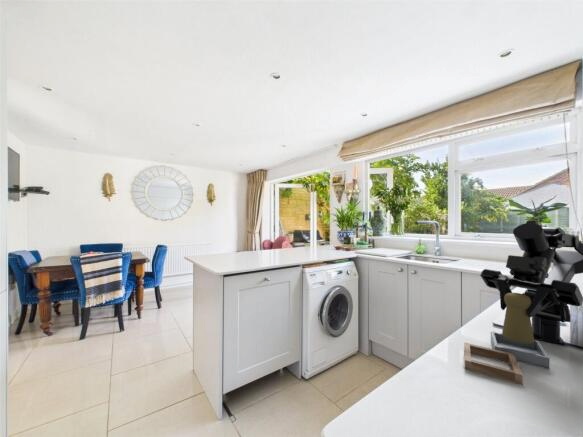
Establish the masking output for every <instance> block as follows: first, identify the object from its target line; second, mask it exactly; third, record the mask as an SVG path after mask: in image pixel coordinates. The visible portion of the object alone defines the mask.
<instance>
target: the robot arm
mask: <svg viewBox="0 0 583 437" xmlns="http://www.w3.org/2000/svg"><path fill="white" fill-rule="evenodd" d="M512 232H513V236H514V238H515V240H516V243H517V245H518V247H519V249H520V250H521V251H523V255H522V256H521V255H513V254H510V255H509V254H508V255H507V260H506V264H505V268H507V269H509V270H510V271H509V274H510V276H513V277H509V276H508V275H504V274H503V273H502V272H501V270H496V269H490V268H489V269H488V268H484V269H483V270H482V271H481V273H480V274H479V275H480V277H481V279H482V280H483V282H484V284H485V285H486V287H488V288H491V289H496V290H498V292H499V302H500V303H499V304H500V309H501V310H502V311H505V310H506V308H507V305H506V303H505V301H504V296H505V295H506V294H507V293H513V292H512V290H511V287H512V286H513V287H516V288H520V289H525V291H523V292H522V294H524V295H527V296H528V297H530V299H531V301H532V303H531V305H530V307H529V310H528V313H527V315H528V317H530V318H531V326H532V331H533V337H534V340H537V341H544V342H549V343H555V344H558V345H566V341H565V340H564V339H563V338H562V337H561V323H571V322H572V315H571V310H570V305H571V306H574V307H580V306H582V303H583V294H582V292H581V290H580V287H579V286H578V285H577V283H576V282H572V279H573V278H574V277H575V275H579V274H583V243H582V242H581V241H580V238H579V236H578V235H575V234H568V233H566V232H565V230H564V229H562V228H561V227H555V226H554V227H551V226H549V227H548V226H542V225H540V224H539V223H538V221H537V220H526V222H525V223H523V224H519V225H518V226H516V227H515V228H514V229H513V230H512ZM561 248H572V249H574V250H575V251H573V250H572V251H571V250H560V249H561ZM558 249H559V250H558ZM551 264H553V267H552V268H551ZM550 268H551V270H550V271H549V269H550Z"/></svg>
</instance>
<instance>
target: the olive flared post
mask: <svg viewBox="0 0 583 437" xmlns="http://www.w3.org/2000/svg"><path fill="white" fill-rule="evenodd" d="M504 301H505V303H506V305H507V307H506V308H505V313H504V321H503V325H502V326H503V327H502V332H501V333H502V335H503V336H504V337H506V338H508V339H510V340H513V341H516V342H521V343H533V342H534V340H535V339H534V337H533V331H532V319H531V317H528V315H527V313H528V310H529V307H530V305H531V303H532V301H531V299H530V297H528V296H527V295H524V294H523V293H520V292H512V293H507V294H506V295H505V296H504Z"/></svg>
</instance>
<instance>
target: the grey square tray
mask: <svg viewBox="0 0 583 437" xmlns="http://www.w3.org/2000/svg"><path fill="white" fill-rule="evenodd" d="M490 341H491V346H492V349H495V350H499V351H504V352H508V353H512V354H514V355H515V358H516V360H517V363H523V364H526V365H530V366H535V367H539V368H543V369H548V370H550V364H551V362H550V361H551V360H550V358H551V357H550V356H549V355H548V353H547V352H546V350H545V349H544V347H543V345H542V344H541V343H540V340H538V339H534V342H533V343H521V342H516V341H513V340H510V339H508V338H506V337H504V336H503V335H502V332H496V331H492V330H491V331H490Z"/></svg>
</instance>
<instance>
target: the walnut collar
mask: <svg viewBox="0 0 583 437" xmlns="http://www.w3.org/2000/svg"><path fill="white" fill-rule="evenodd" d="M463 348H464V349H463V350H464V369H465V370H469V371H471V372H475V373H478V374H481V375H486V376H489V377H493V378H496V379H500V380H504V381H507V382H509V383H514V384H518V385H521V386H522V385H523V373H522V371H521V369H520V366H519V362H517V360H516V358H515V355H514V354H512V353H508V352H504V351H499V350H495V349H493V348H491V347H486V346H482V345H478V344H477V345H476V344H472V343H468V342H464V347H463ZM471 355H475V356H479V357H483V358H486V359H490V360H496V361H498V362H504V363H506V364H508V367H509V368H506V367H502V366H498V365H494V364H490V363H487V362H483V361H478V360H476V359H472V358H471Z"/></svg>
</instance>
